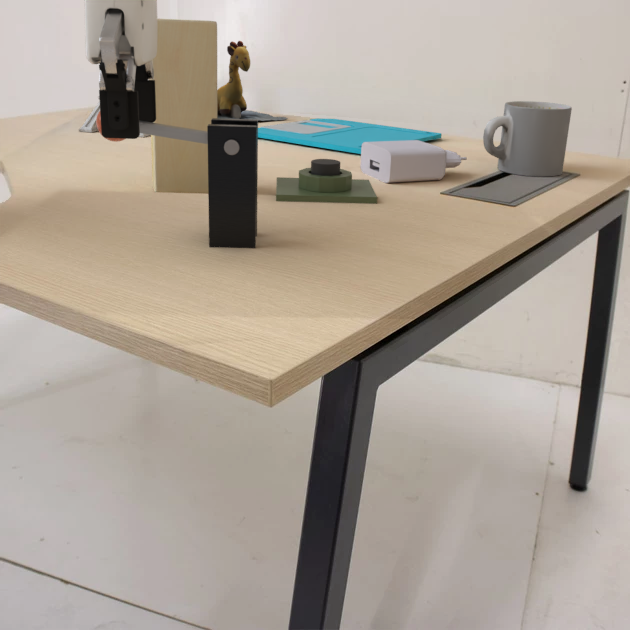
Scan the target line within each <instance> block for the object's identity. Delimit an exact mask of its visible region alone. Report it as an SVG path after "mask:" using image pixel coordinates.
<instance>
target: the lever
mask: <svg viewBox="0 0 630 630" xmlns="http://www.w3.org/2000/svg"><path fill="white" fill-rule="evenodd" d="M96 126H97V129H98V131H97V132H99V134H100V135H101V136H102V133H101V116H100V111H99V113H98V115H97V118H96ZM139 127H140V133H141V134H147V135H150V136H151V135H154V136H160V137H166V138H172V139H178V140H185V141H191V142H197V143H203V144H208V133H207V131H202V130H195V129H189V128H183V127H177V126H171V125H165V124H158V123H152V122H146V121H140V120H139ZM103 138H104V139H105V140H107V141H109V142H116V143H118V142H123V141H125V140H126V139H124V138H105V137H103Z"/></svg>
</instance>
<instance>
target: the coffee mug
mask: <svg viewBox="0 0 630 630" xmlns="http://www.w3.org/2000/svg"><path fill="white" fill-rule="evenodd" d="M503 108H504V109H503V115H502V116H501V115H500V116H495V117H493V118H491V119H490V120H488V122H487V123H486V124H485V127H484V129H483V137H482V139H483V140H482V141H483V142H482V143H483V147H484V150H485V151H486V152H487V153H488V154H489V155H491V156H492V157H494V158H496V159H497V170H499V171H501V172H503V173H507V174H511V175H517V176H524V177H541V178H542V177H543V178H545V177H547V178H548V177H556V176H560V175H562V174H563V170H564V164H565V157H566V151H567V150H566V149H567V144H568V137H569V130H570V123H571V116H572V110H573V109H572V106H570V105H569V104H568V105H567V104H563V103H556V102H545V101H533V100H532V101H531V100H514V101H513V100H512V101H507V102H505V103H504V107H503ZM500 127H501V133H500V134H501V135H500V143H499V145H498V146H495V143H494V136H495V133H496V131H497V130H498V128H500Z"/></svg>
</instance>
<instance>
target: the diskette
mask: <svg viewBox="0 0 630 630" xmlns="http://www.w3.org/2000/svg"><path fill="white" fill-rule="evenodd" d="M258 139H264V140H265V139H266V140H270V141H271V140H273V141H277V142H285V143H290V144H296V145H297V144H298V145H303V146H309V147H315V148H321V149H327V150H333V151H339V152H340V151H341V152H344V153H345V152H346V153H352V154H358V155H361V146H362V143H364V142H378V141H406V140H419V141H422V142H428V141H434V140H440V139H442V133H441V132H434V131H428V130H420V129H413V128H412V129H411V128H405V127H398V126H390V125H383V124H376V123H369V122H360V121H353V120H345V119H339V118H311V119H303V120H297V121H289V122H283V123H277V124H270V125H262V126H260V127H258Z"/></svg>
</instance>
